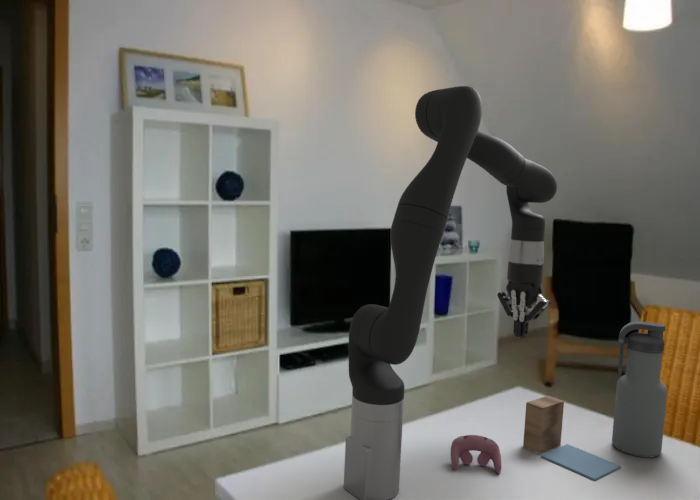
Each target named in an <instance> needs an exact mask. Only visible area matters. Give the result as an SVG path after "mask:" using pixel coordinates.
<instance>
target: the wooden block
mask: <svg viewBox="0 0 700 500" xmlns="http://www.w3.org/2000/svg"><path fill="white" fill-rule="evenodd" d="M564 405H565V400H561V399H559V398H555V397H553V396H550V395H546V396H543V397H539V398H536V399H532V400H530V401H526V402H525V414H524V415H525V418H524V431H523V443H522V448H524V449H527V450H529V451H531V452H533V453H536V454H538V455H542V454H544V453H546V452H549V451H551V450H554V449H556V448H559V447H561V443H562V431H563V419H564V407H565V406H564Z"/></svg>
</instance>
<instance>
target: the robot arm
mask: <svg viewBox="0 0 700 500" xmlns="http://www.w3.org/2000/svg"><path fill="white" fill-rule="evenodd" d="M414 114H415V117H414V118H415V122H416V124H417V127H418V129H419V130H420V132H421V133H422V134H424V136H426V137H427V138H429V139H430V140H433V141H435V142H437V144H436V147H435V149H434V150H433V153H432V155H431V157H430V158H429V160H428V161H427V163H426V164H425V165H424V166H423V167H422V169H421V170H420V171H419V172H418V173H417V174H416V176H415V177H414V178H413V179H411V182H410V183H409V184H408V185H407V187H406V188H405V190H404V191H403V192H402V194H401V196H400V198H399V200H398V203H397V207H396V210H395V213H394V216H393V220H392V224H391V227H390V232H389V234H390V235H389V238H390V240H389V241H390V247H391V252H392V258H393V261H394V262H393V264H394V270H395V271H394V272H395V279H394V287H393V292H392V294H391V295H392V296H391V299H390V300H389V301H390V302H389V305H388V307H387V306H384V305H379V304H373V303H370V304H365V305H363V306H361V307H360V308H358V309H357V311H355V313H354V315H353V316H352V319H351V322H350V325H349V329H348V330H349V331H348V376H349V377H348V378H349V380H350V381H349V382H350V384H351V389H352V394H351V396H352V397H351V398H352V399H351V416H350V434H349V436H347V437H346V438H345V445H344V446H345V447H344V469H343V472H344V475H343V488H344V489H345V490H346V491H347V492H349V493H351V495H353V496H355V497H356V498H357V499H359V500H390V499H393V498H395V497H396V496H397V495H398V494H399V492H400V477H401V476H400V475H401V458H402V442H403V438H402V437H403V423H404V422H403V421H404V405H405V404H404V403H405V383H404V380H402V378H401V377H400V376H399V375H398V374H397V373H396V371H395V370H394V368H393V367H392V365H394V366H396V365H401V364H402V363H405V361H407V359H409V357H410V356H411V355H412V353H413V351H414V349H415V346H416V344H417V341H418V338H419V334H420V329H421V324H422V323H421V322H422V318H423V313H424V306H425V303H426V302H425V301H426V297H427V292H428V288H429V284H430V278H431V275H432V272H433V268H434V264H435V260H436V257H437V253H438V251H439V246H440V244H441V241H442V238H443V235H444V232H445V229H446V225H447V221H448V218H449V213H450V209H451V205H452V203H453V200H454V196H455V192H456V190H457V186H458V183H459V180H460V177H461V174H462V171H463V169H464V166H465V163H466V160H467V159H468V160H470V161H471V162H472V163H475V164H476V165H477V166H479V167H480V168H482V169H483V170H484V171H485V172H486V173H488V174H489V175H490V176H492V178H494V179H495V180H496V181H498V182H499V183H500V184H502V185H503V186H506V197H507V202H508V206H509V212H510V216H511V223H512V224H511V233H510V234H511V237H510V244H509V248H508V257H507V258H508V259H507V273H506V274H507V276H506V279H507V285H506V287H505V289H504V290H503V291H500V292H498V293H497V299H498V300H499V302H500V303H501V306H502V308H503V309H504V312H505V313H506V315H507V316H508V317H511V318H512V319H513V334H514V337H515V338H519V339H524V338H526V337H527V336H528V333H529V325H530V324H529V323H530V321H536V320H538V318H540V316H541V315H542V314H543V313H544V312H545V311H546V309H547V308H548V307H549V306H550V305H551V300H550V299H546V298H545V297H544V296H543V291H542V288H541V285H542V282H543V276H544V273H543V272H544V263H545V262H544V261H545V242H544V241H545V231H546V230H545V229H546V219H545V217H544V216H543V215H541V214H538V213H536V212H533V211H532V210H531V208H530V203H531V204H532V203H534V204H536V203H537V204H538V203H539V204H540V203H541V204H542V203H547V202H549V201H551V200H552V199H553V198H554V197H555V195H556V194H557V191H558V190H557V189H558V184H557V180H556V178H555V176H554V174H553V173H552V172H551V171H550V170H549V169H548V168H546V167H544V166H543V165H540V164H539V163H536V162H534V161H533V160H530V159H527V158H526V157H524V156H523V155H522V154H521V153H520V152H519V151H518V150H516V149H515V148H514V147H513V146H512V145H511V144H509V143H508V142H506V141H505V140H502V139H501V138H499V137H497V136H493V134H489V133H487V132H484V131H482V130H479V128H480V126H481V121H482V117H483V116H482V115H483V101H482V98H481V96H480V94H479V92H478V90H477V89H476V88H473V87H472V86H468V85H467V86H466V85H461V86H458V85H457V86H453V87H446V88H442V89H441V88H440V89H435V90H431V91H428V92H425V93H424V94H423V95H422V96H420V98H419V99H418V101H417V103H416V106H415V112H414ZM534 305H535V306H534Z"/></svg>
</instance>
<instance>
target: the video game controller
mask: <svg viewBox="0 0 700 500" xmlns="http://www.w3.org/2000/svg"><path fill="white" fill-rule="evenodd" d="M450 447H451V448H450V461H451V463H450V464H451V467H452V469H453V470H454V471H456V470H457V469H458V466H459V462H460V460H461V463H462V464H464V465H471V464H472V463H473V461H474V456H473V455H472V453H471V452H470V451H472V452H473V451H474V452H475V451H476V452H477V451H478V452H480V453H479V454H478V455H477V457H476V458H477V459H476V461H477V464H478V465H479V466H480V467H481V466H482V467H485V466H487V465H488V464H489V462H490V461H492V464H493V467H494V471H495V473H496V474H497V475H498V474H501V472H502V456H501V455H502V454H501V450H500V447H499V445H498V443H497V442H496V441H494V440H493V439H491V438H488V437H487V436H483V435H476V434H466V435H461V436H458V437H456V438H455V439H453V440H452V442H451V446H450Z"/></svg>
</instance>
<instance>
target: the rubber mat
mask: <svg viewBox="0 0 700 500" xmlns="http://www.w3.org/2000/svg"><path fill="white" fill-rule="evenodd" d="M540 458H542V459H545V460H546V461H550V462H551V463H553V464H556V465H557V466H560V467H563V468H565V469H567V470H570V471H572V472H573V473H576V474H578V475H581V476H582V477H586V478H587V479H590V480H592V481H593V482H594V481H598V480H599V479H601V478H603V477H605V476H607V475H609V474H611V473H613V472H615V471H617V470H619V469H621V468H622V465H621V464H618V463H617V462H616V463H615V462H612V461H610V460H608V459H606V458H604V457H601V456H597V455H596V454H593V453H591V452H588V451H586V450H583V449H580V448H579V447H575V446H573V445H570V444H569V443H566V444H564V445H562V446H561V445H560V446H558V447H555V448H553V449H551V450H548V451H546V452H543V453H541V454H540Z"/></svg>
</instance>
